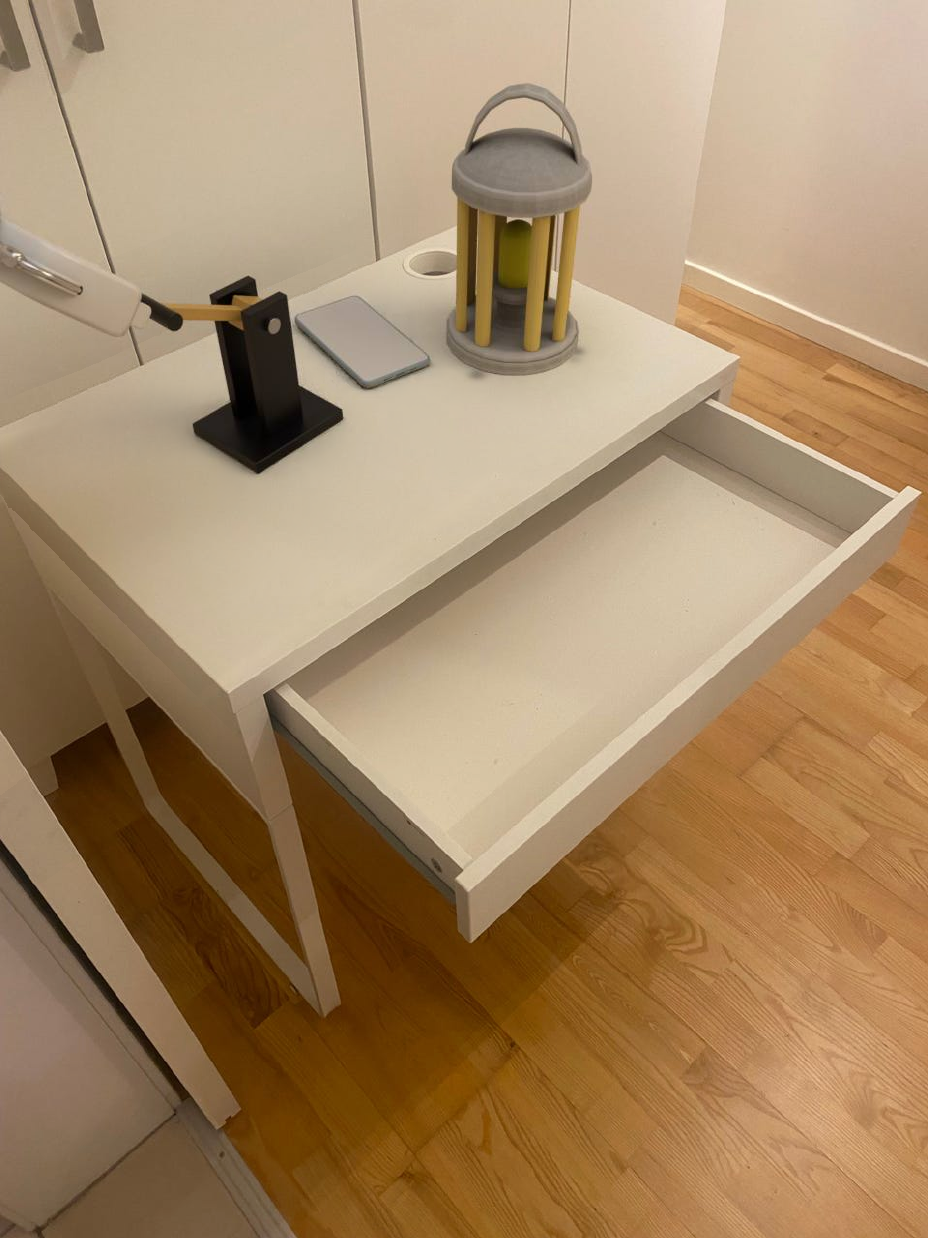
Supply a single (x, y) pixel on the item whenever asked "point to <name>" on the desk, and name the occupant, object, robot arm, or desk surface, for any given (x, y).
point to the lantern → (516, 242)
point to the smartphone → (362, 341)
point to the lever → (198, 311)
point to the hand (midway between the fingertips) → (101, 294)
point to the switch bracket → (262, 385)
